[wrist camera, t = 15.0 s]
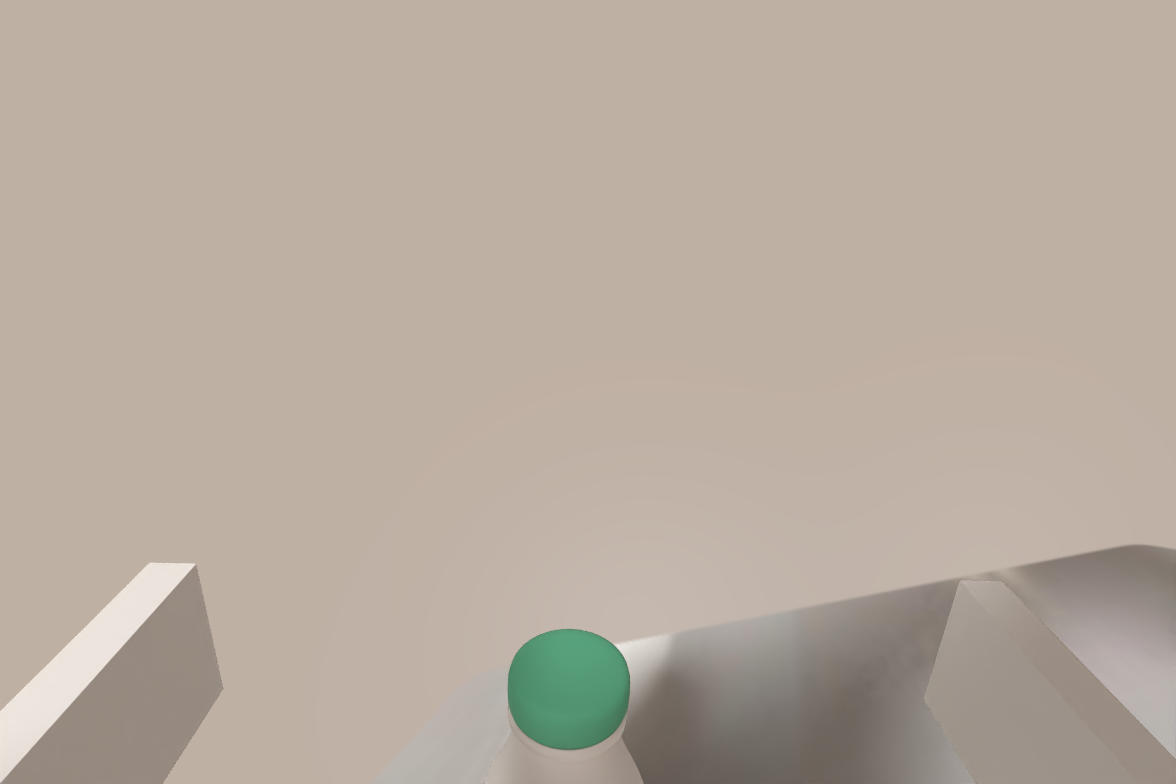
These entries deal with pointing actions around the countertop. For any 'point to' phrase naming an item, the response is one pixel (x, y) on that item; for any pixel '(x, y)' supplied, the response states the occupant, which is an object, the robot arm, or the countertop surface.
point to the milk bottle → (566, 713)
